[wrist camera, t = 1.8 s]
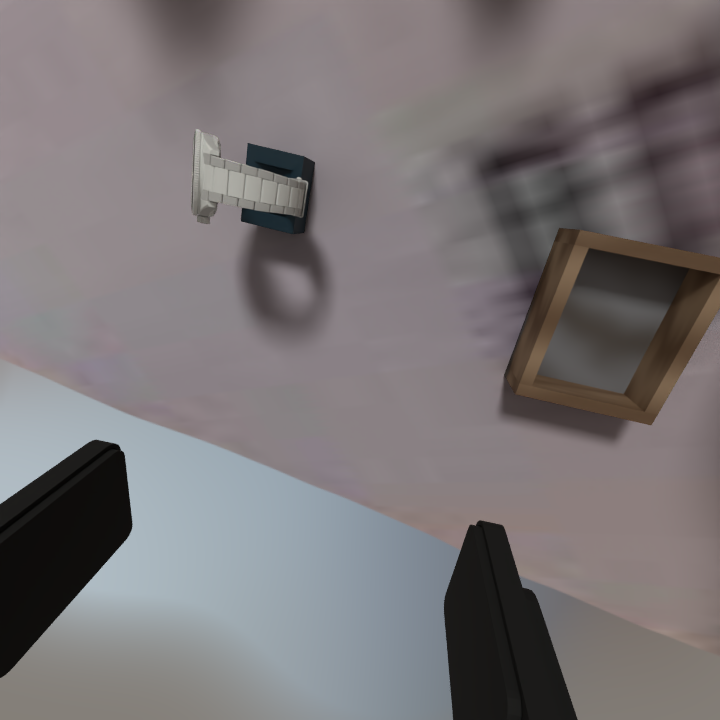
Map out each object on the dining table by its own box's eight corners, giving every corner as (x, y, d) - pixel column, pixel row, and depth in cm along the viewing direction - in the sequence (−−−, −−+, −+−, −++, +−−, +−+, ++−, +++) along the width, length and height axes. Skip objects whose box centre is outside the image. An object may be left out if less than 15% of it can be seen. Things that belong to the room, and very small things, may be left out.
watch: (240, 144, 30) (152, 108, 20) (335, 167, 30) (295, 142, 20) (234, 216, 32) (152, 216, 22) (323, 238, 32) (280, 249, 22)
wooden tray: (559, 228, 29) (580, 230, 25) (702, 256, 28) (745, 262, 25) (504, 374, 34) (515, 394, 30) (625, 402, 33) (651, 425, 30)
